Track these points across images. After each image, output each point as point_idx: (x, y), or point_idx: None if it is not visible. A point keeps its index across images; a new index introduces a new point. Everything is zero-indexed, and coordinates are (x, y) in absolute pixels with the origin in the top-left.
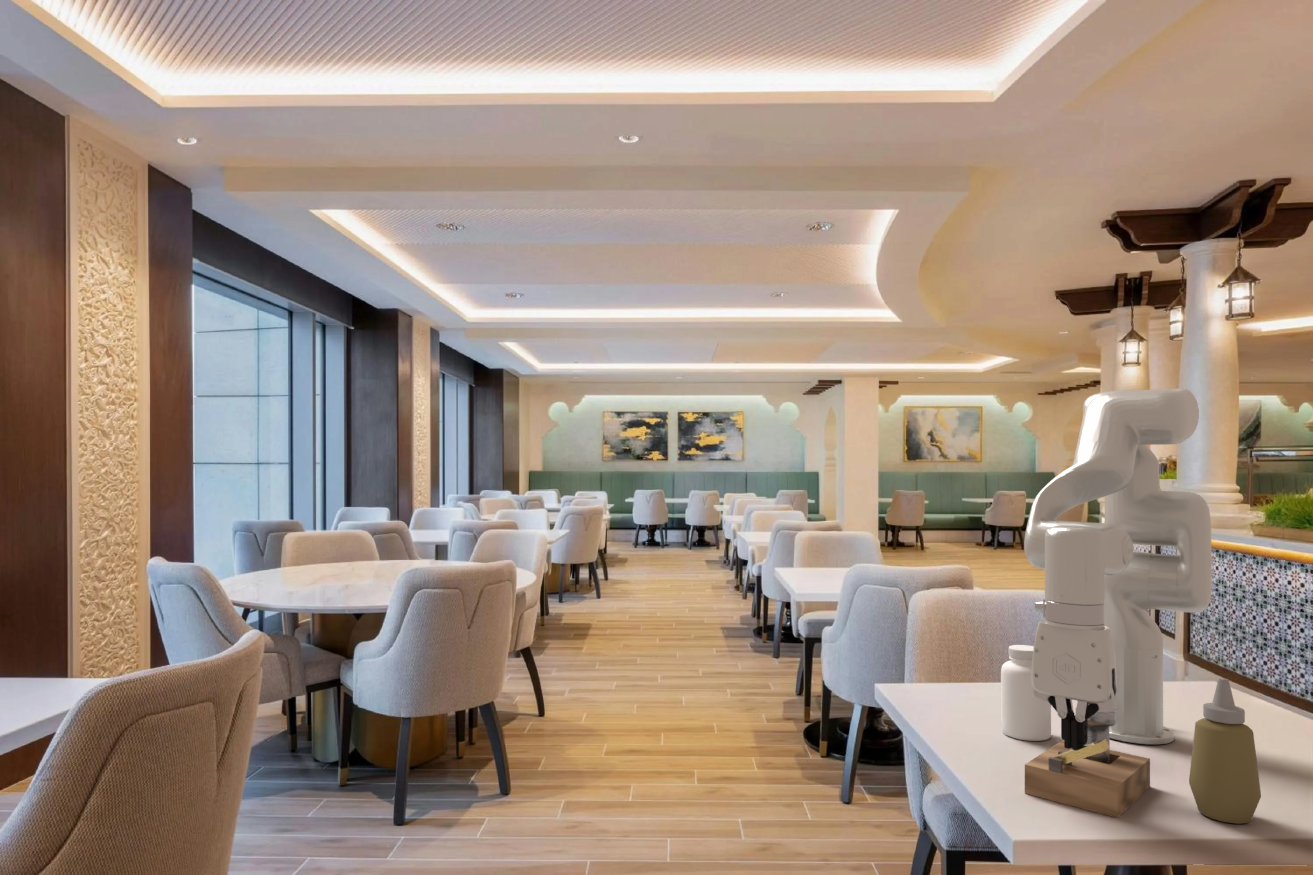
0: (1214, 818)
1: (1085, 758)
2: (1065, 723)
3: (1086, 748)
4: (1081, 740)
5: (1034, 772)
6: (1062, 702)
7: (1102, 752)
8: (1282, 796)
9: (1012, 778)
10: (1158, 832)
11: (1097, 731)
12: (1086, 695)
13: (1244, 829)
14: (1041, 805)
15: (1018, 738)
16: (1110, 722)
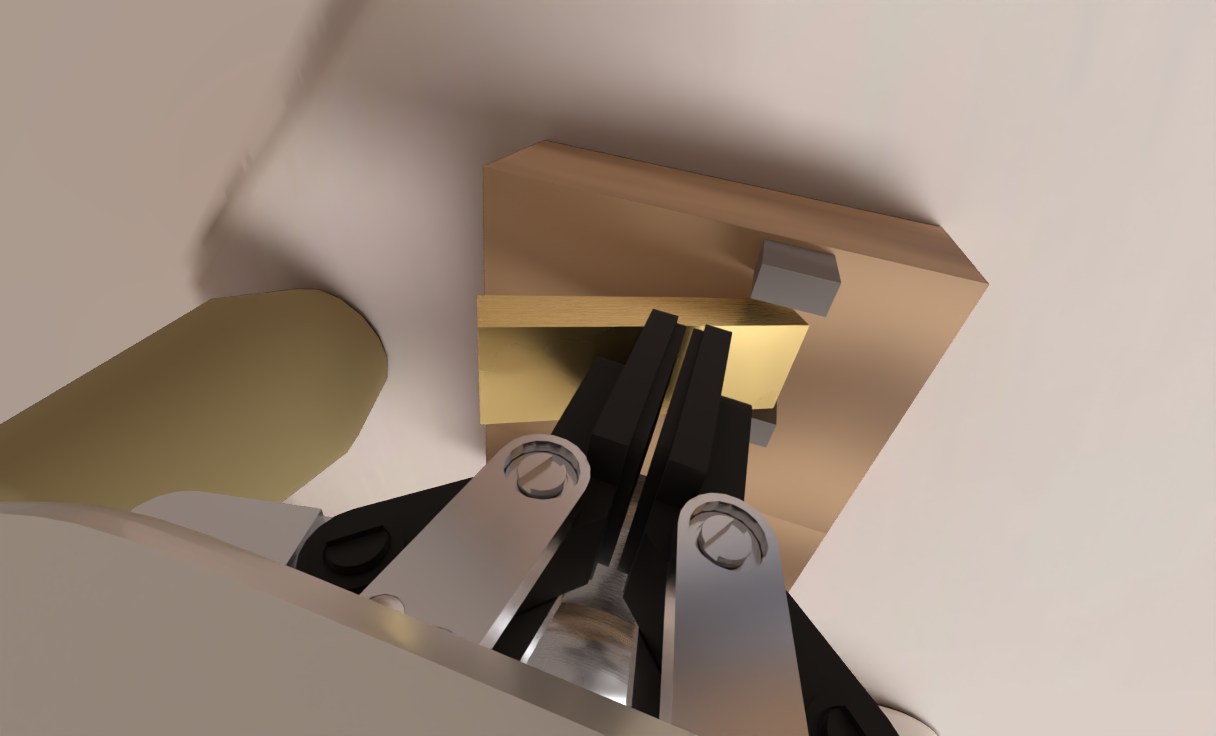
0: (331, 295)
1: None
2: (700, 438)
3: (586, 320)
4: (607, 364)
5: (916, 256)
6: (703, 668)
7: None
8: (319, 504)
9: (977, 392)
10: (400, 64)
11: (586, 588)
12: (70, 657)
13: (272, 267)
14: (866, 88)
15: (896, 711)
16: None
